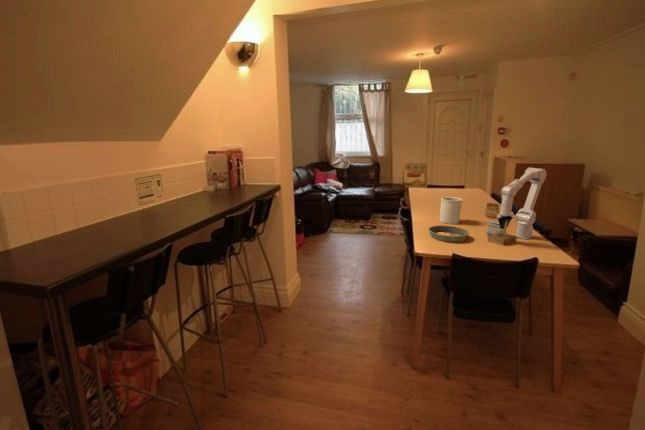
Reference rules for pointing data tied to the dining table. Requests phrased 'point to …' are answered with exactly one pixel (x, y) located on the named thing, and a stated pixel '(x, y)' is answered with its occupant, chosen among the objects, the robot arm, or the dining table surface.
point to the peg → (503, 231)
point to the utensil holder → (450, 210)
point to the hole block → (502, 238)
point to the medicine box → (493, 228)
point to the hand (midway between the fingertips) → (503, 228)
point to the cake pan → (451, 231)
